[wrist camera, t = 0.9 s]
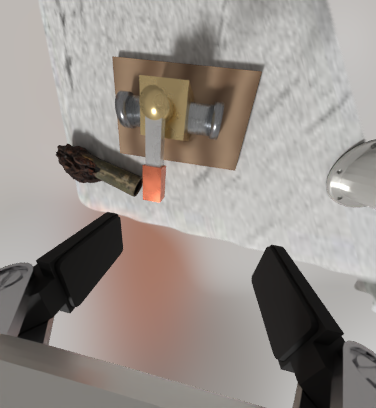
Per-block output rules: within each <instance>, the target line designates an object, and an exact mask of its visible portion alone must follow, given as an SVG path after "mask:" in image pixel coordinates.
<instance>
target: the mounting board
mask: <svg viewBox="0 0 376 408" xmlns="http://www.w3.org/2000/svg"><path fill="white" fill-rule="evenodd" d="M112 58H113V70H114V82H115V94H116V95H117V93H118V92H119V91H130V92H132V93H133V94H134V95H137V96H140V84H139V75H145V76H154V77H163V78H173V79H182V80H189V81H190V85H191V88H192V91H193V95H194V102H195V103H203V104H212V105H215V102H223V103H224V111H223V116H222V121H221V126H220V131H219V135H218V138H217V140H214V139H209V136H204V135H196V134H190V138H189V141H181V140H174V139H167V138H165V144H164V160H169V161H176V162H182V163H189V164H196V165H202V166H209V167H215V168H222V169H229V170H235V169H236V165H237V161H238V157H239V154H240V150H241V146H242V143H243V139H244V135H245V132H246V128H247V124H248V121H249V117H250V113H251V110H252V106H253V102H254V99H255V95H256V91H257V87H258V84H259V80H260V76H261V73H262V72H261V71H251V70H241V69H231V68H221V67H211V66H202V65H192V64H182V63H172V62H162V61H152V60H142V59H132V58H122V57H112ZM117 118H118V117H117ZM118 130H119V143H120V153H123V154H129V155H136V156H143V157H146V154H145V135H141V131H140V127H136V128H126V127H124V126H122V125H121V123H120V121H119V119H118Z"/></svg>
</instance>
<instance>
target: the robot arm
mask: <svg viewBox="0 0 376 408" xmlns="http://www.w3.org/2000/svg"><path fill="white" fill-rule="evenodd" d="M327 192H328V194H329V196H330V197H331V199H333V200H334V201H335V202H337V203H339V204H341V205H344V206H347V207H366V206H369V207H371V208H374V209H376V140H371V141H368V142H365V143H363V144H361V145H359V146H357V147H355V148H353V149H352V150H350V151H349V152H347V153H346V154H345V155H344V156H343V157H341V158H340V159H339V160H338V162H337V163H336V164H335V165H334V167H333V168H332V170H331V171H330V173H329V176H328V179H327ZM122 251H123V243H122V231H121V221H120V217H119V216H118V214H115V213H110V212H107V213H105V214H103V215H102V216H101V217H99V218H98V219H96V220H95V221H93V222H92V223H90V224H89V225H87V226H86V227H84V228H83V229H81V230H80V231H78V232H77V233H76V234H74V235H73V236H71V237H70V238H68V239H67V240H65V241H64V242H62V243H61V244H59V245H58V246H56V247H55V248H54V249H52V250H51V251H49V252H48V253H46V254H45V255H43V256H42V257H40V258H39V259H37V260H36V262H37V265H35V266H34V267H33V266H32V265H31V264H29V263H16V264H12V265H8V266H5V267H3V268H1V269H0V408H265V407H262V406H258V405H255V404H251V403H248V402H245V401H241V400H238V399H234V398H231V397H227V396H224V395H221V394H217V393H214V392H210V391H207V390H204V389H200V388H197V387H193V386H190V385H186V384H183V383H179V382H176V381H172V380H169V379H165V378H162V377H159V376H155V375H152V374H148V373H145V372H141V371H138V370H134V369H130V368H127V367H124V366H120V365H116V364H113V363H110V362H106V361H102V360H99V359H95V358H92V357H88V356H85V355H81V354H77V353H74V352H70V351H67V350H63V349H60V348H56V347H52V346H49V340H50V335H51V330H52V325H53V320H54V316H55V314H56V313H57V312H58V311H59V310H60V311H64V312H67V313H71V312H72V311H73V309H74V308H75V307H77V306H79V305H80V304H81V303H82V302H83V301H84V299H85V298H86V297H87V296H88V294H89V293H90V292H91V291H92V289H93V288H94V287H95V285H96V284H97V283H98V282H99V281H100V279H101V278H102V277H103V275H104V274H105V273H106V272H107V270H108V269H109V268H110V267H111V265H112V264H113V263H114V262H115V260H116V259H117V258H118V257H119V255H120V254H121V252H122ZM252 284H253V288H254V291H255V294H256V298H257V301H258V304H259V308H260V311H261V314H262V318H263V321H264V324H265V328H266V331H267V334H268V338H269V341H270V344H271V347H272V351H273V354H274V356H275V358H276V359H278V361H279V364H280V367H281V369H282V370H286V371H290V372H293V373H295V376H296V379H297V381H298V384H297V389H296V394H295V399H294V403H293V408H376V354H375V353H374V352H373V351H371V350H369V349H368V348H366V347H365V346H363V345H361V344H359V343H357V342H354V341H347V342H345V341H344V339H343V338H342V335H343V334H344V333H343V331H342V330H341V329H340V327H339V326H338V324H337V323H336V322H335V320H334V319H333V317H332V316H331V314H330V313H329V311H328V310H327V309H326V307H325V306H324V305H323V303H322V302H321V300H320V299H319V297H318V296H317V294H316V293H315V292H314V290H313V289H312V287H311V286H310V284H309V283H308V282H307V280H306V279H305V277H304V276H303V274H302V273H301V272H300V271H299V269H298V267H297V266H296V265H295V263H294V262H293V260H292V259H291V257H290V256H289V254H288V253H287V252H286V250H285V249H284V248H283V247H281V246H276V245H271V246H270V247H267V248H266V250H265V252H264V254H263V256H262V258H261V260H260V262H259V264H258V266H257V268H256V270H255V271H254V274H253V275H252Z"/></svg>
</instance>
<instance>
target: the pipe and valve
mask: <svg viewBox="0 0 376 408" xmlns="http://www.w3.org/2000/svg"><path fill="white" fill-rule="evenodd" d="M139 84H140V94H141V92H142V90H143V89H144V88H145V87H146V86H148V85H156V86H158V87H159V88H161V89H162V90H163V92H164V93H165V94H166V95H167V96H168V97H169V98H170V100H171V101H172V104H173V108H174V111H173V116H172V118H171V119H170V120H169V121H168V122H166V123H165V138H167V139H174V140H181V141H189V138H190V134H196V135H204V136H209V139H214V140H217V138H218V135H219V131H220V126H221V121H222V116H223V111H224V103H223V102H215V105H212V104H203V103H195V102H194V95H193V91H192V88H191V85H190V81H189V80H182V79H173V78H163V77H154V76H145V75H139ZM139 97H140V96H137V95H134V94H133V93H132V92H130V91H119V92H118V93H117V95H116V99H115V108H116V114H117V117H118V119H119V121H120V123H121V125H122V126H124V127H126V128H136V127H140V131H141V135H145V115H144V114H143V112H142V111H141V108H140V104H139Z"/></svg>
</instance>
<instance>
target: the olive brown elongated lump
mask: <svg viewBox="0 0 376 408" xmlns="http://www.w3.org/2000/svg"><path fill="white" fill-rule="evenodd" d="M56 153H57V154H56V156H57V157H58V159H59V163H60V164H61V165H62V166H63V168H64V170H65V171H66V173H68V174H69V175H70V176H71V177H72V178H73V179H75V180H77V181H79V182H81V183H86V182H88V183H95V182H98V181H104V182H106V183H108V184H110V185H112V186H114V187H116V188H118V189H120V190H122V191H124V192H126V193H127V194H129V195H131V196H134V197H135V196H136V195H137V194H138V192H139V191H140V189H141V187H142V183H143V178H142V177H140V176H137V175H135V174H133V173H130V172H128V171H126V170H123V169H121V168H119V167H116V166H114V165H112V164H110V163H108V162H106V161H103V160H101V159H99V158H97V157H95V156H93V155H91V154H90V153H89V152H88V151H87V150H86V149H85V148H82V147H80V146H75V147H73V146H71V145H70V144H67V145H66V146H61V145H59V146H58V152H56Z"/></svg>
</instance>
